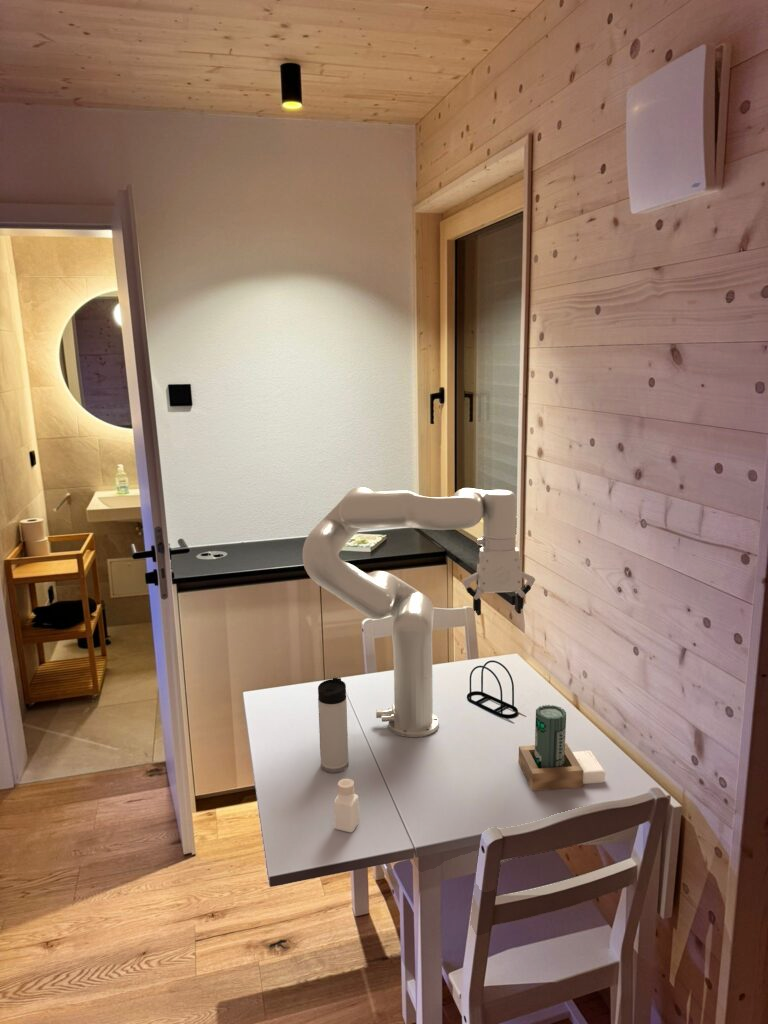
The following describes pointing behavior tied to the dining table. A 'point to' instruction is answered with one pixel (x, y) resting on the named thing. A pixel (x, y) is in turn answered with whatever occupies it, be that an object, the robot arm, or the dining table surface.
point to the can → (550, 736)
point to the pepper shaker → (346, 806)
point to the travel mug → (333, 725)
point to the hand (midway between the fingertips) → (497, 612)
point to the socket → (550, 771)
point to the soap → (590, 767)
